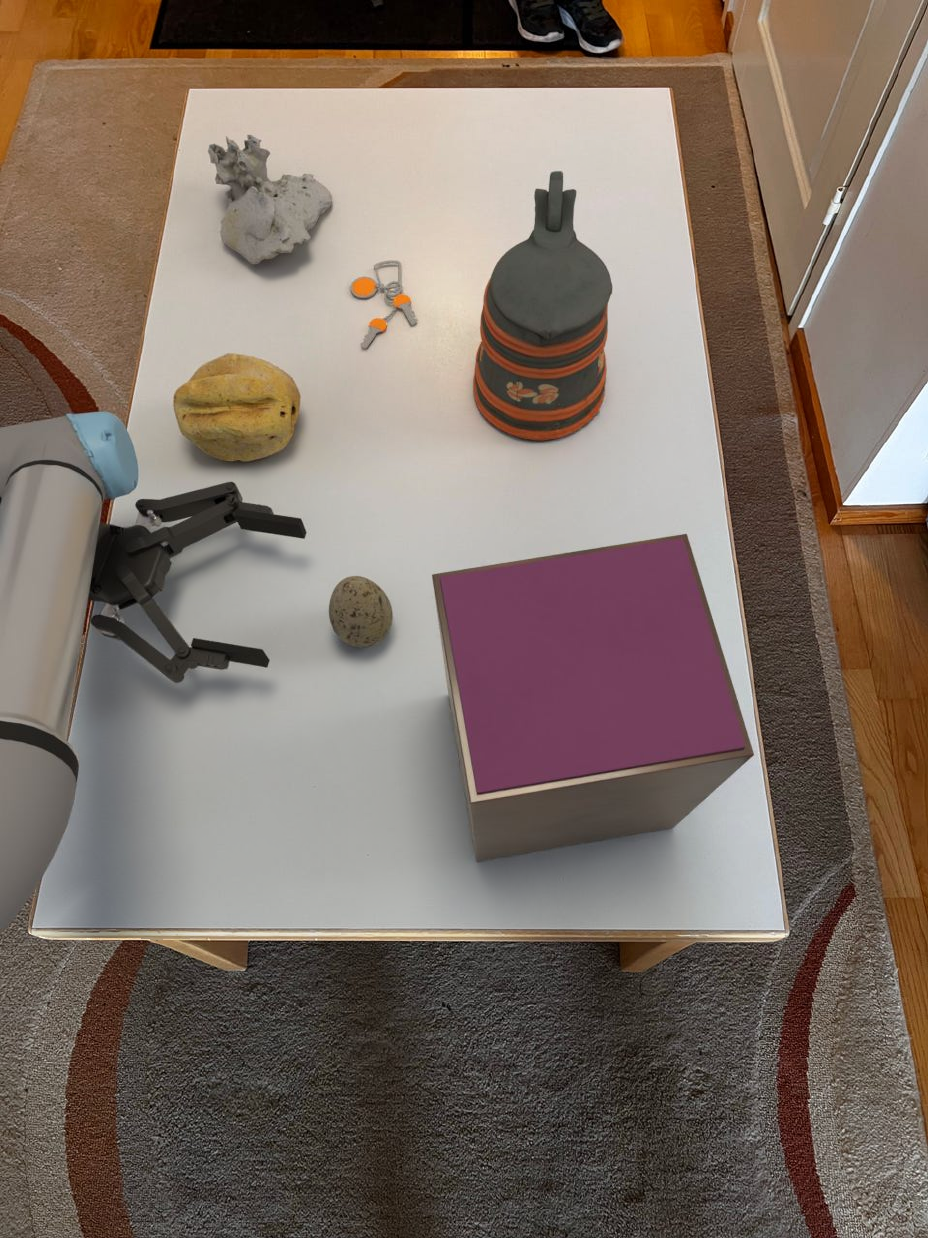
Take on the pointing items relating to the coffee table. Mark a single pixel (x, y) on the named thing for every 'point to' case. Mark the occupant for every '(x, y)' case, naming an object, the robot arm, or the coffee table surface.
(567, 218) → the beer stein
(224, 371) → the tan rounded lump
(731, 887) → the coffee table surface
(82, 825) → the coffee table surface
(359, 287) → the key chain
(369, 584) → the decorative egg
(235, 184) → the coral
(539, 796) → the plinth
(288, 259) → the coffee table surface
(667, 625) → the cloth
